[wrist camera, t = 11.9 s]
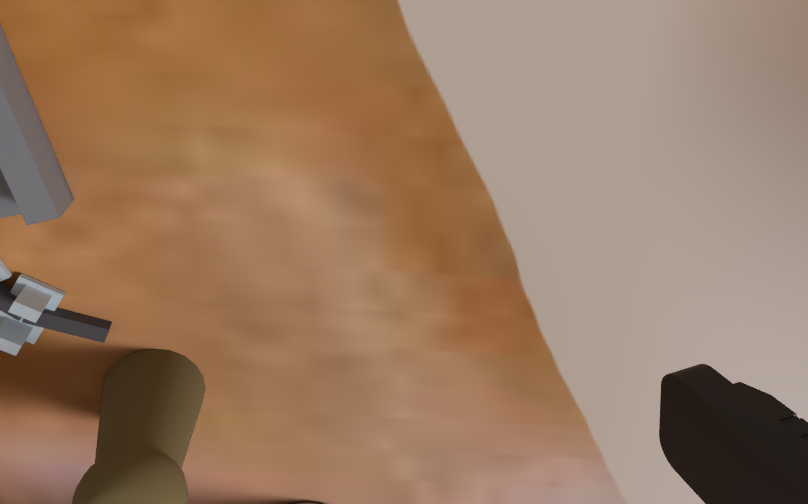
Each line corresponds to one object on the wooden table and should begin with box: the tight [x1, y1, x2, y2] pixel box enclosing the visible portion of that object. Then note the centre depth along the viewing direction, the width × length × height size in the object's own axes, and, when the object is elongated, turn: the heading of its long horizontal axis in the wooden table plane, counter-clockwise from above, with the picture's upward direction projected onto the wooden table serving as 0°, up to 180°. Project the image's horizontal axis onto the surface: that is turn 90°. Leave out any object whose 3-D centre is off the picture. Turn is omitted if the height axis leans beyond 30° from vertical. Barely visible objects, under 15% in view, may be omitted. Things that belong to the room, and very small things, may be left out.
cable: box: [0, 282, 112, 342], centre depth 33 cm, size 10×3×1 cm, turn 42°
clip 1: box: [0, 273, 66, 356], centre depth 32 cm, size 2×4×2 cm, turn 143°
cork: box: [72, 349, 205, 504], centre depth 33 cm, size 6×6×11 cm
